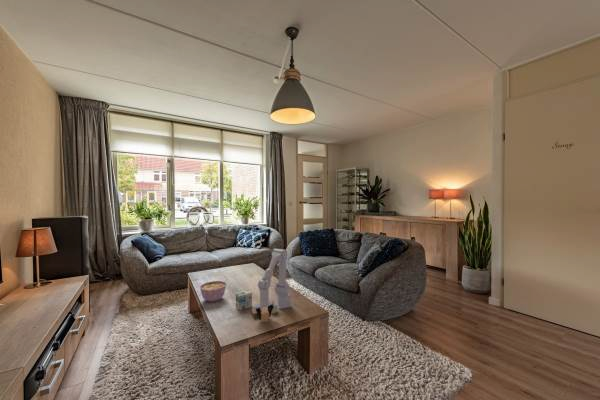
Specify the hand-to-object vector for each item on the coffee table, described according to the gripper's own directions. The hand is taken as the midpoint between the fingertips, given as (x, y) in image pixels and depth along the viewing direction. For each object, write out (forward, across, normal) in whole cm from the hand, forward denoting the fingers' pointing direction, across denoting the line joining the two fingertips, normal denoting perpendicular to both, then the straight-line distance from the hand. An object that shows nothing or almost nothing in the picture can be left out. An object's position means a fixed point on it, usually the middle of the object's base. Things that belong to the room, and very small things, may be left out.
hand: (264, 317), depth 161 cm
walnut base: (+2, +1, -9) cm, 9 cm away
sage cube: (+2, -10, -8) cm, 13 cm away
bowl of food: (+2, +22, -51) cm, 56 cm away
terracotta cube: (+2, 0, 0) cm, 2 cm away
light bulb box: (+2, +5, -26) cm, 27 cm away
